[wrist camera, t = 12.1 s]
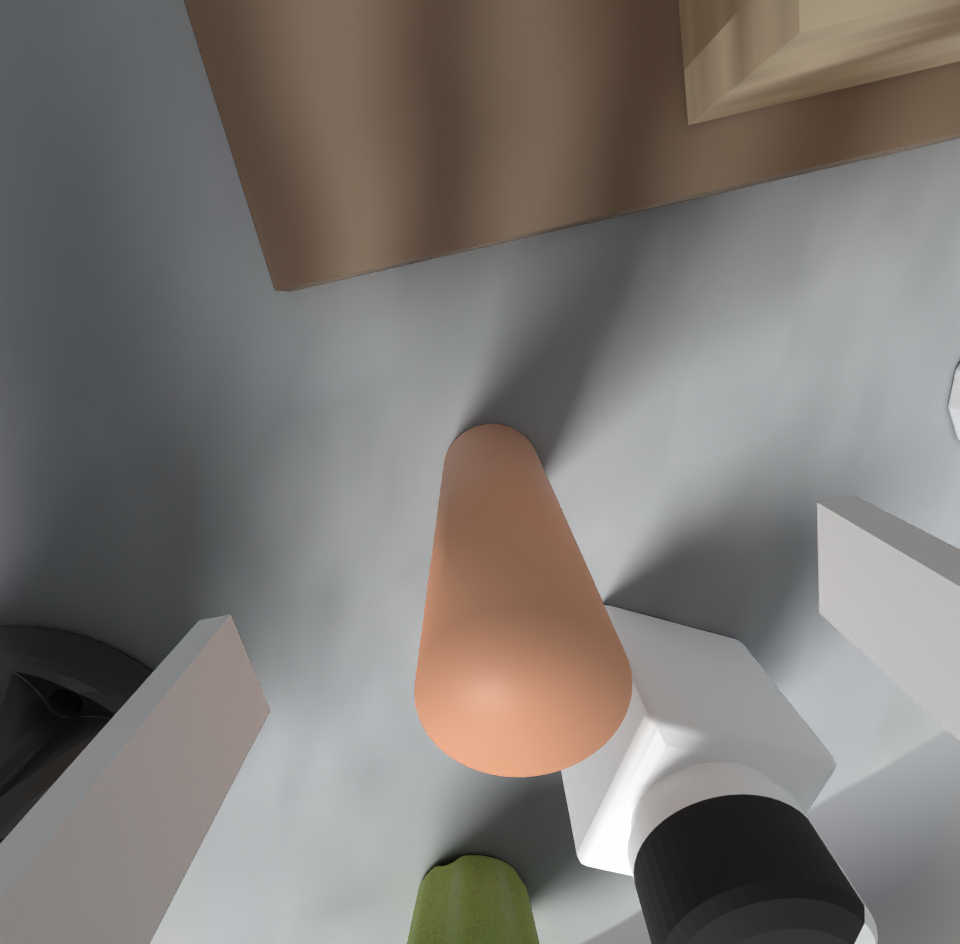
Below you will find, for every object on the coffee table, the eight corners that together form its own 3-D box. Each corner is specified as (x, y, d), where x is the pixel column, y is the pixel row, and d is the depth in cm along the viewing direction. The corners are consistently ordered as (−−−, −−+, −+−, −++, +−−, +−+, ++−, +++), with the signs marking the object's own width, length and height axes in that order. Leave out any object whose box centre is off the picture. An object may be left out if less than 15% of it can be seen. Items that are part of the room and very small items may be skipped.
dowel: (457, 523, 23) (446, 795, 10) (432, 436, 21) (387, 628, 9) (547, 502, 22) (646, 753, 10) (528, 412, 21) (613, 576, 9)
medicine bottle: (548, 721, 26) (608, 1048, 15) (600, 599, 24) (716, 869, 13) (681, 753, 27) (837, 1089, 15) (742, 638, 25) (975, 926, 13)
